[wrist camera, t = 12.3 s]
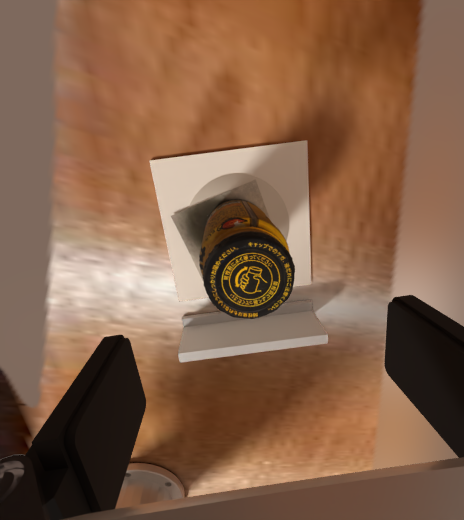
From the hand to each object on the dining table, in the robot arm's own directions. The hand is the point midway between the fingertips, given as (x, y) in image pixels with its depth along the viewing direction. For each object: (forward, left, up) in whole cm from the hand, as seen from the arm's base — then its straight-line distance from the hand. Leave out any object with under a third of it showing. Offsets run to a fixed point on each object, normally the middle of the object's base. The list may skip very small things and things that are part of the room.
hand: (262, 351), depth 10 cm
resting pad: (+1, 0, -18) cm, 18 cm away
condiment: (0, +1, -18) cm, 18 cm away
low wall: (-10, 0, -18) cm, 21 cm away
